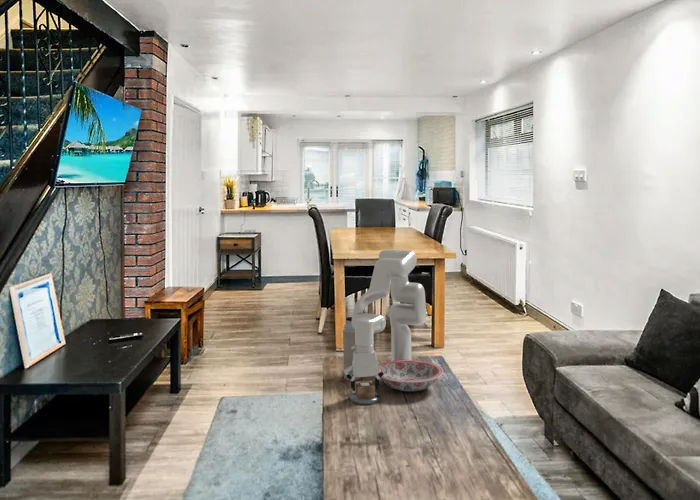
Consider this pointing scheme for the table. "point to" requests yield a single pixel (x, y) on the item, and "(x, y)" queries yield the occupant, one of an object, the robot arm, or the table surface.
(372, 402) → the post base
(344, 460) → the table surface
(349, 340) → the thermos bottle
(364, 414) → the table surface
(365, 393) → the hollow wooden square
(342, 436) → the table surface
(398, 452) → the table surface
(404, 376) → the ceramic bowl
